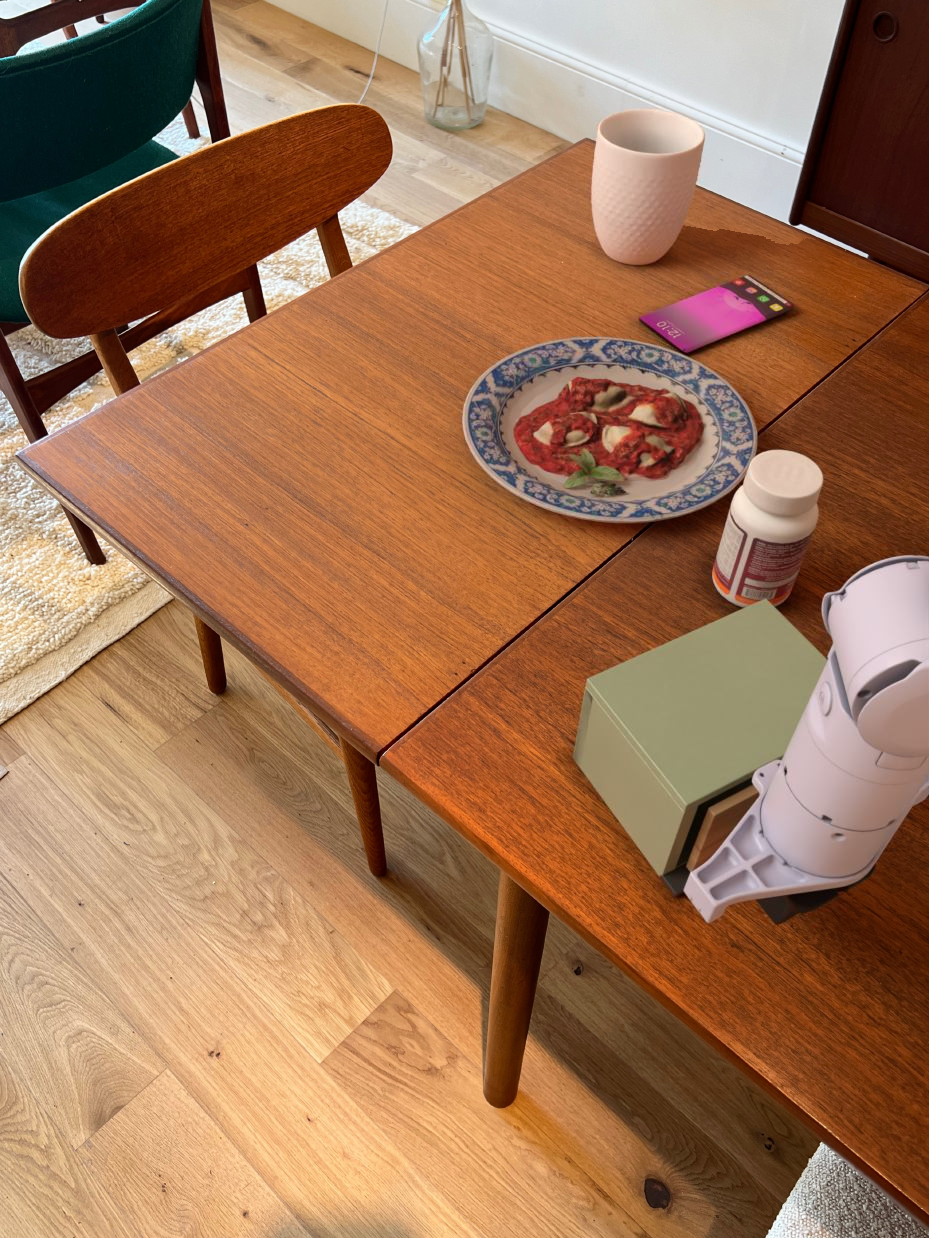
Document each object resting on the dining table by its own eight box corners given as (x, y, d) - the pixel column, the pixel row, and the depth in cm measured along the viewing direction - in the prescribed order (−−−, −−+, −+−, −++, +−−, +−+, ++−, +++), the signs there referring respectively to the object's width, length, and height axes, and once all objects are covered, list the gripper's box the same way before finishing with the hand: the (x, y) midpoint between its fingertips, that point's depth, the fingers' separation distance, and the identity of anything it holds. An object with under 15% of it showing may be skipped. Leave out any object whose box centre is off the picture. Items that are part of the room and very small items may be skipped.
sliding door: (837, 893, 60) (875, 836, 54) (746, 947, 57) (776, 892, 52) (774, 817, 63) (803, 757, 58) (685, 866, 61) (708, 807, 56)
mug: (585, 207, 117) (597, 90, 108) (679, 213, 117) (700, 96, 107) (583, 273, 108) (596, 151, 98) (685, 280, 107) (709, 157, 97)
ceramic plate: (545, 327, 101) (548, 301, 98) (791, 410, 92) (800, 383, 90) (406, 470, 86) (405, 442, 84) (683, 584, 78) (690, 557, 75)
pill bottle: (805, 584, 78) (850, 474, 69) (759, 625, 75) (799, 515, 66) (740, 544, 81) (775, 432, 72) (694, 582, 78) (724, 470, 69)
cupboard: (847, 802, 65) (893, 724, 58) (674, 898, 60) (702, 825, 54) (736, 679, 71) (766, 597, 65) (572, 758, 67) (586, 678, 60)
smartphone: (793, 313, 103) (796, 305, 102) (682, 356, 97) (684, 348, 97) (745, 281, 107) (747, 273, 106) (636, 321, 101) (637, 313, 101)
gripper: (897, 659, 51) (822, 798, 61) (667, 775, 46) (627, 904, 56) (1007, 762, 47) (906, 892, 57) (767, 901, 42) (704, 1016, 52)
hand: (773, 905), depth 56 cm, fingers closed
